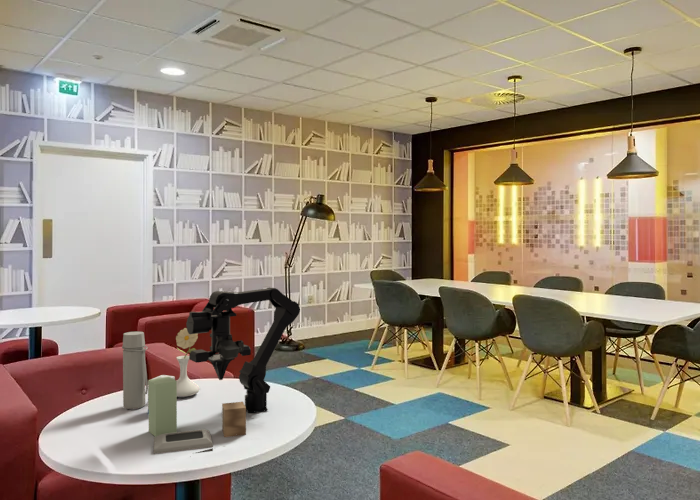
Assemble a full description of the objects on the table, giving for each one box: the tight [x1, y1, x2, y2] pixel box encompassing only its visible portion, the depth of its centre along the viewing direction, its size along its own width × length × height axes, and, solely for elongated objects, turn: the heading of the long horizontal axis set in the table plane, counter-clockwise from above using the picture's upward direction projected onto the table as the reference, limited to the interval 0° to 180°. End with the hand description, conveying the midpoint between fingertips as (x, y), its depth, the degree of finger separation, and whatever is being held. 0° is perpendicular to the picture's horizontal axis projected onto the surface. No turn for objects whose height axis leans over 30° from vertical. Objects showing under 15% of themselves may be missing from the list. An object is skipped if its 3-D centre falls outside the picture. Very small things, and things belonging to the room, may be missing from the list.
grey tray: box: [153, 428, 214, 455], centre depth 148 cm, size 10×4×15 cm
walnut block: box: [221, 401, 247, 438], centre depth 156 cm, size 6×6×9 cm
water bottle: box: [121, 331, 149, 410], centre depth 182 cm, size 9×8×25 cm
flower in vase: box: [175, 327, 201, 398], centre depth 195 cm, size 13×11×25 cm
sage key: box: [147, 377, 178, 437], centre depth 156 cm, size 6×6×15 cm
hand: (220, 379), depth 172 cm, fingers closed
